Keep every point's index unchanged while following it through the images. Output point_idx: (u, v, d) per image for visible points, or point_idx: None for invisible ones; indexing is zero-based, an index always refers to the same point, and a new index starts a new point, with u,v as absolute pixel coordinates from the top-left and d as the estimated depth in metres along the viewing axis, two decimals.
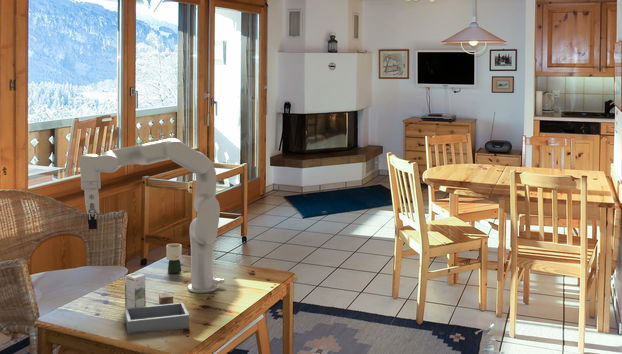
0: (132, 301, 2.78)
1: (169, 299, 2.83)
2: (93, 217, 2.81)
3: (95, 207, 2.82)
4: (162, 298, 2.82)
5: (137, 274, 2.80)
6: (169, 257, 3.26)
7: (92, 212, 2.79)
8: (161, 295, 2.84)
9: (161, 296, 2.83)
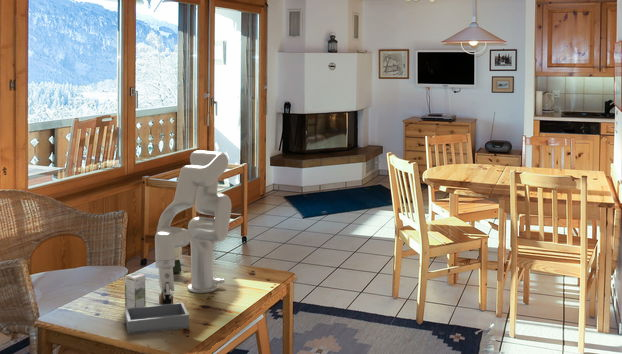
0: (132, 301, 2.78)
1: None
2: (168, 297, 2.80)
3: (170, 286, 2.79)
4: (162, 298, 2.82)
5: (137, 274, 2.80)
6: None
7: (168, 295, 2.78)
8: (161, 295, 2.84)
9: (161, 296, 2.83)
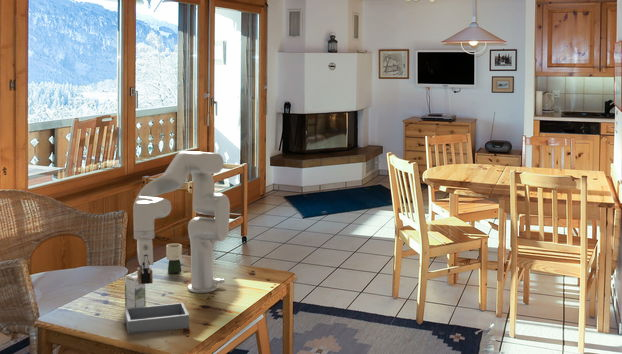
0: (132, 301, 2.78)
1: None
2: (147, 271, 2.61)
3: (149, 258, 2.61)
4: (140, 272, 2.63)
5: None
6: (169, 257, 3.26)
7: (146, 268, 2.59)
8: (139, 269, 2.65)
9: (139, 270, 2.64)
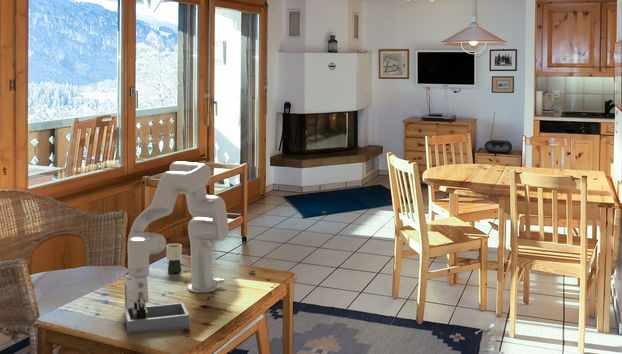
0: (132, 301, 2.78)
1: None
2: (142, 308, 2.57)
3: (144, 296, 2.58)
4: (136, 314, 2.61)
5: None
6: (169, 257, 3.26)
7: (141, 303, 2.55)
8: (135, 311, 2.63)
9: (135, 312, 2.62)
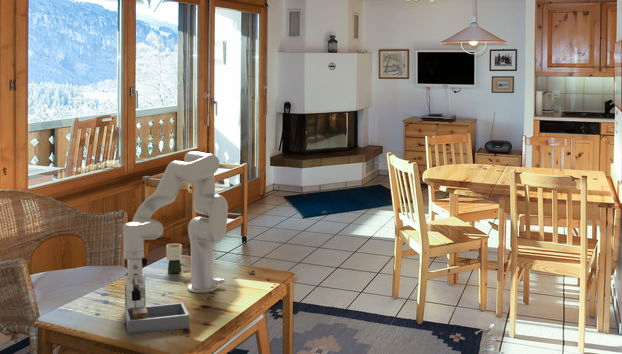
0: (132, 301, 2.78)
1: (143, 315, 2.62)
2: (137, 289, 2.74)
3: (139, 277, 2.75)
4: (136, 314, 2.61)
5: None
6: (169, 257, 3.26)
7: (136, 285, 2.72)
8: (135, 311, 2.63)
9: (135, 312, 2.62)
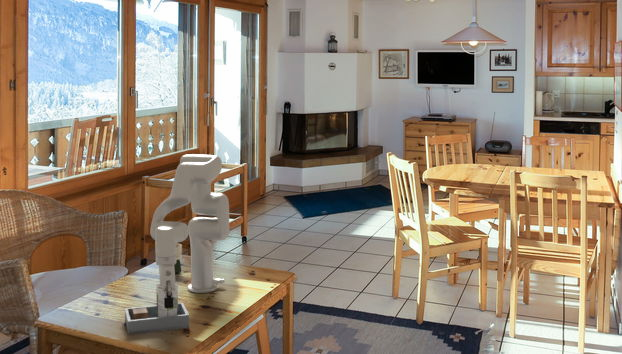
0: (164, 311, 2.64)
1: (143, 315, 2.62)
2: (170, 296, 2.59)
3: (172, 284, 2.61)
4: (136, 314, 2.61)
5: None
6: None
7: (169, 291, 2.58)
8: (135, 311, 2.63)
9: (135, 312, 2.62)
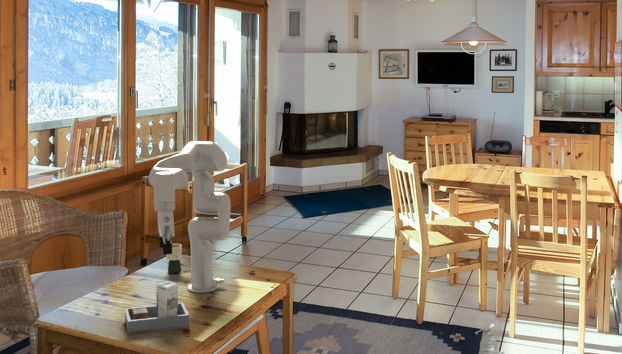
0: (164, 311, 2.64)
1: (143, 315, 2.62)
2: (169, 241, 2.56)
3: (170, 230, 2.57)
4: (136, 314, 2.61)
5: (169, 283, 2.66)
6: (169, 257, 3.26)
7: (168, 236, 2.54)
8: (135, 311, 2.63)
9: (135, 312, 2.62)
